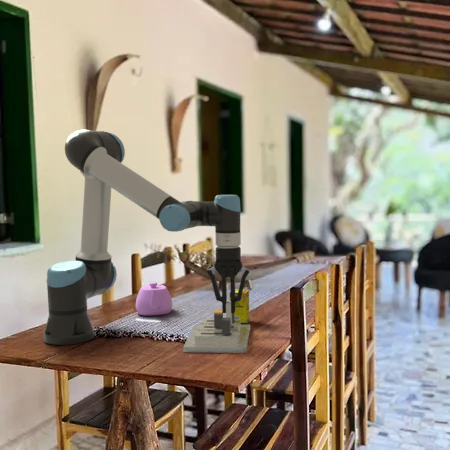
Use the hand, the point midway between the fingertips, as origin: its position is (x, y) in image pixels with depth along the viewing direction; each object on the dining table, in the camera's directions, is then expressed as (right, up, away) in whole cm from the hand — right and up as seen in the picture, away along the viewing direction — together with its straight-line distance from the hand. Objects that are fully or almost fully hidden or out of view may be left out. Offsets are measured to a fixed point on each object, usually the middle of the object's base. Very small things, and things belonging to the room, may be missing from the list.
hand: (228, 323), depth 174 cm
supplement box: (+4, -3, +20) cm, 21 cm away
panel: (-3, -5, +1) cm, 6 cm away
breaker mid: (-3, -1, 0) cm, 3 cm away
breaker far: (+1, 0, +7) cm, 7 cm away
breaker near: (-1, -1, -7) cm, 7 cm away
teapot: (-27, -2, +35) cm, 44 cm away
